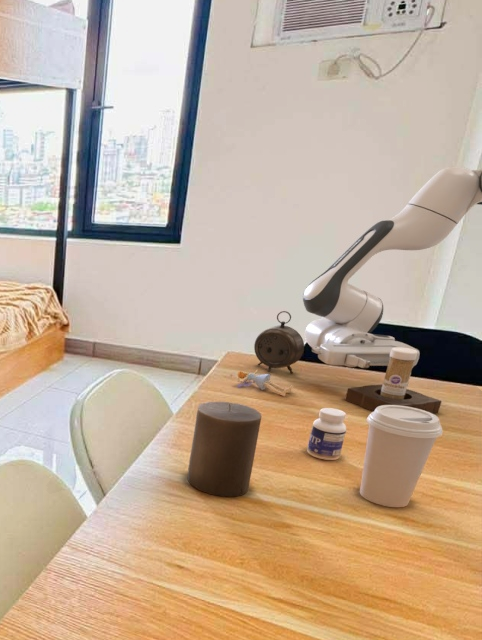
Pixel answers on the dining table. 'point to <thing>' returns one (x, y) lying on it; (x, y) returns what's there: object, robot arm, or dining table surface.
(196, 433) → the pillar candle
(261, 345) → the alarm clock
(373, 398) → the holder base
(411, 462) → the coffee cup
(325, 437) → the pill bottle
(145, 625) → the dining table surface
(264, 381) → the fairy figurine
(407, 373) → the sprinkles bottle
